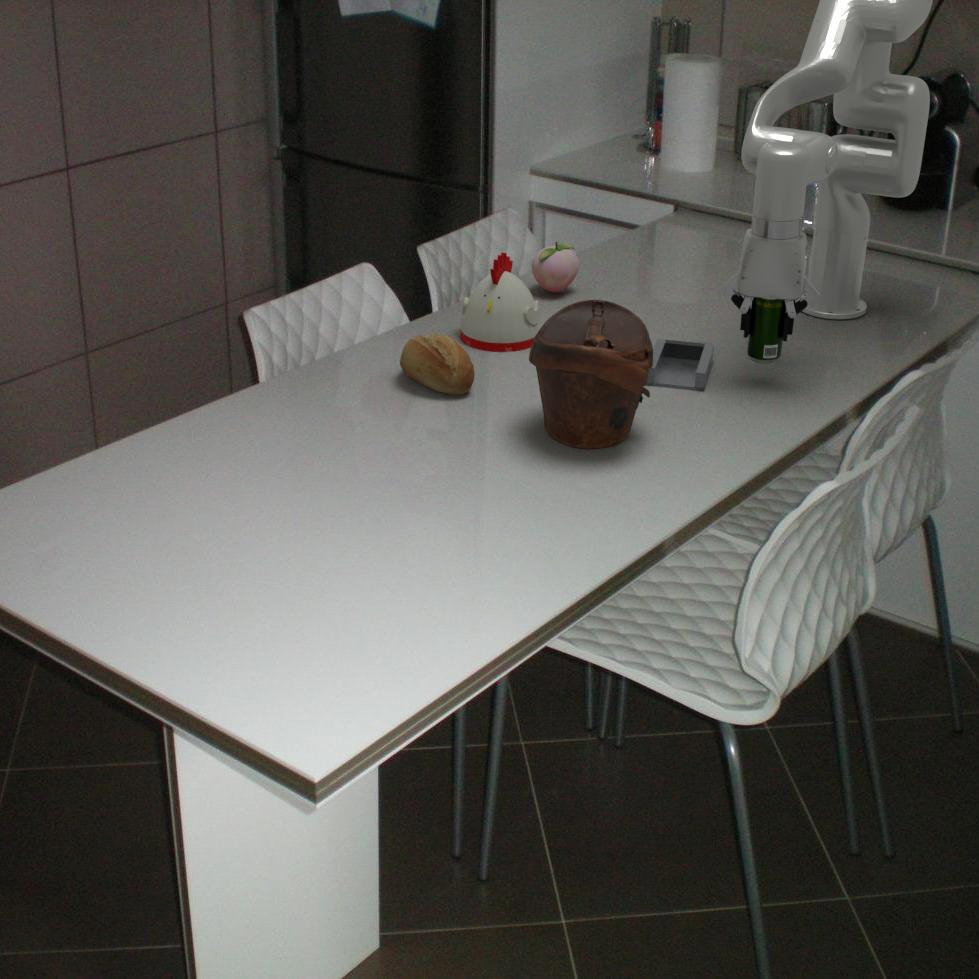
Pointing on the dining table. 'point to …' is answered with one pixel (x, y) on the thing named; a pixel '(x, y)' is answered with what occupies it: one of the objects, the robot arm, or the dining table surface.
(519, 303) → the kitchen timer
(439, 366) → the bread roll
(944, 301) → the dining table surface
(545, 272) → the decorative fruit
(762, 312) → the beer can
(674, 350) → the grey tray
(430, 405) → the dining table surface
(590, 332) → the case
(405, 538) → the dining table surface
